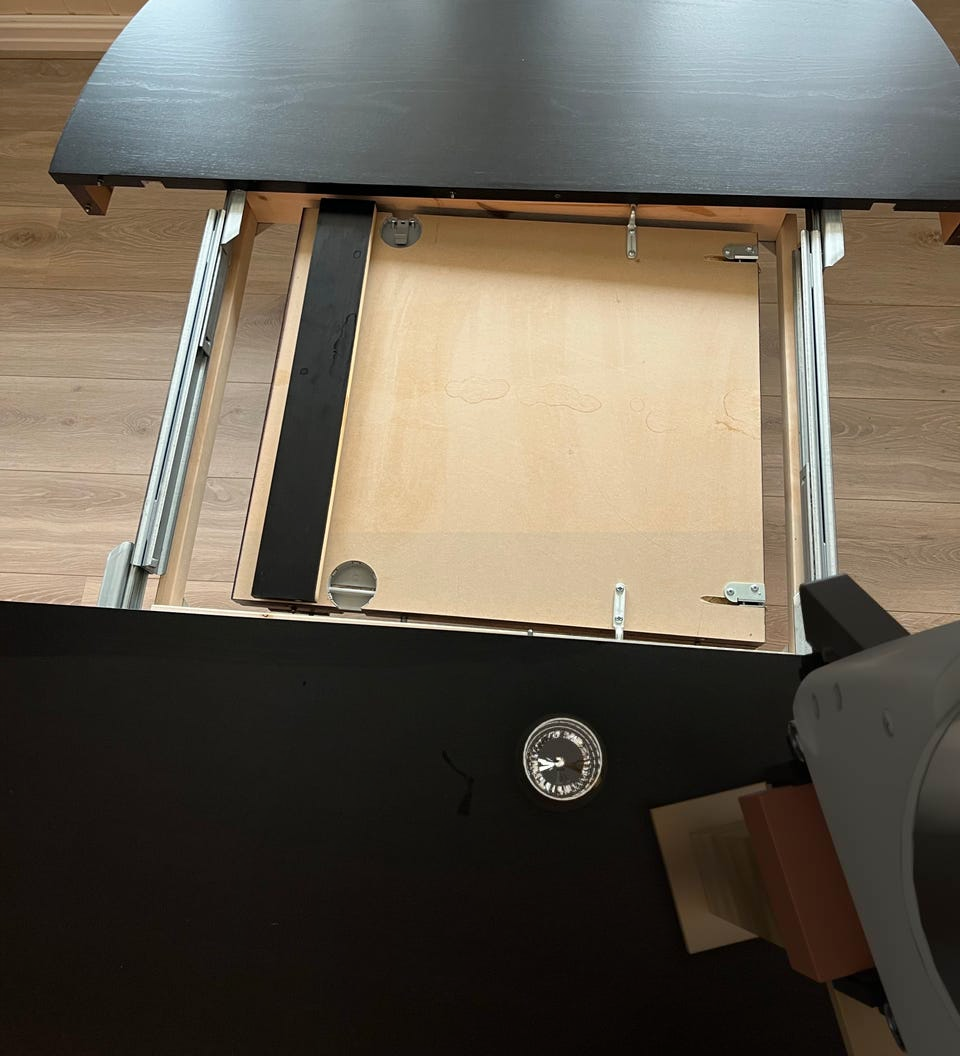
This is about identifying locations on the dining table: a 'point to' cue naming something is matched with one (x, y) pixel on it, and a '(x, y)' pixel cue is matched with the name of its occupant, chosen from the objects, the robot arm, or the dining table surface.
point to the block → (806, 883)
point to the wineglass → (560, 762)
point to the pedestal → (739, 897)
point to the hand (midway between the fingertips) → (845, 860)
